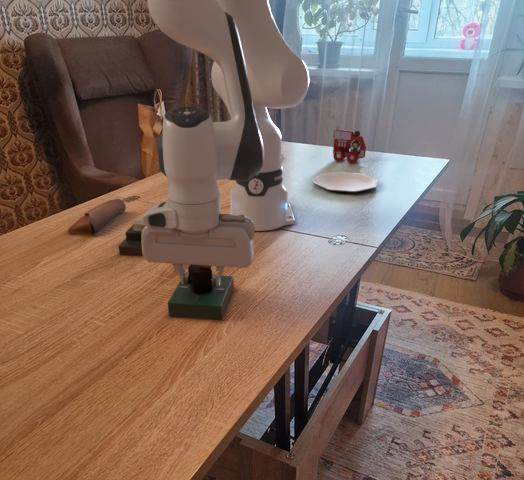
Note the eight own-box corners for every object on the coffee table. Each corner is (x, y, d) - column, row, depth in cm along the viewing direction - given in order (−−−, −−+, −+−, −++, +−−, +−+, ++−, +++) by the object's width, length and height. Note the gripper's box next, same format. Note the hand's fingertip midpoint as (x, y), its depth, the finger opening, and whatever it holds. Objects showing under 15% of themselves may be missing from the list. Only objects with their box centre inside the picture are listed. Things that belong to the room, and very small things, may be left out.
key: (138, 226, 116) (137, 218, 115) (153, 227, 116) (151, 218, 115) (133, 232, 114) (132, 223, 112) (148, 232, 113) (146, 224, 112)
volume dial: (187, 293, 91) (184, 269, 88) (194, 282, 94) (192, 259, 91) (209, 295, 90) (207, 271, 87) (215, 284, 93) (214, 261, 91)
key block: (140, 232, 123) (137, 217, 121) (169, 233, 122) (167, 218, 120) (119, 255, 112) (116, 238, 109) (151, 256, 111) (149, 240, 109)
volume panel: (186, 286, 99) (184, 272, 97) (233, 289, 98) (233, 275, 96) (169, 316, 89) (167, 301, 88) (222, 320, 88) (221, 305, 87)
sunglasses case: (98, 208, 136) (106, 188, 132) (120, 222, 137) (128, 203, 133) (65, 232, 122) (72, 211, 118) (90, 247, 123) (97, 227, 119)
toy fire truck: (361, 164, 174) (364, 133, 168) (328, 161, 179) (331, 130, 173) (366, 160, 180) (369, 130, 174) (334, 156, 184) (336, 127, 178)
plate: (374, 197, 144) (374, 192, 144) (309, 192, 149) (309, 187, 148) (378, 179, 160) (379, 174, 159) (320, 174, 164) (320, 170, 163)
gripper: (257, 209, 85) (257, 280, 93) (145, 204, 87) (155, 273, 95) (251, 222, 80) (252, 295, 88) (133, 216, 82) (144, 288, 90)
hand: (201, 284), depth 91 cm, fingers closed on volume dial, 4 cm apart
